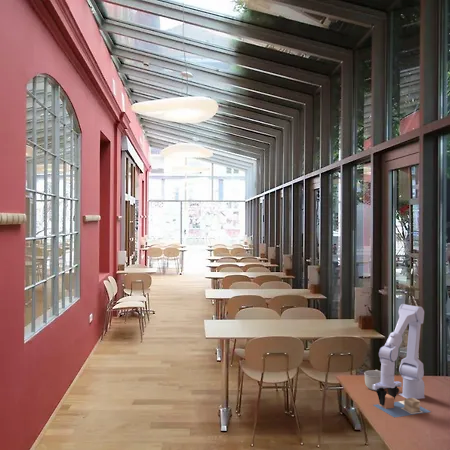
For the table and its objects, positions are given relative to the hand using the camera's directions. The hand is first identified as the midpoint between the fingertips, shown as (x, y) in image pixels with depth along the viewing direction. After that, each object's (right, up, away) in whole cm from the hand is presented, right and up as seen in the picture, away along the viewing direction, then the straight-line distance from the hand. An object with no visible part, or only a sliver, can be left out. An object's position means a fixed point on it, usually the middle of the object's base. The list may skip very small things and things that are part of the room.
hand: (386, 404), depth 215 cm
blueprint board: (+6, -2, -2) cm, 7 cm away
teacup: (+3, -2, +25) cm, 25 cm away
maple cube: (+10, -1, -4) cm, 11 cm away
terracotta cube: (0, -1, 0) cm, 1 cm away
